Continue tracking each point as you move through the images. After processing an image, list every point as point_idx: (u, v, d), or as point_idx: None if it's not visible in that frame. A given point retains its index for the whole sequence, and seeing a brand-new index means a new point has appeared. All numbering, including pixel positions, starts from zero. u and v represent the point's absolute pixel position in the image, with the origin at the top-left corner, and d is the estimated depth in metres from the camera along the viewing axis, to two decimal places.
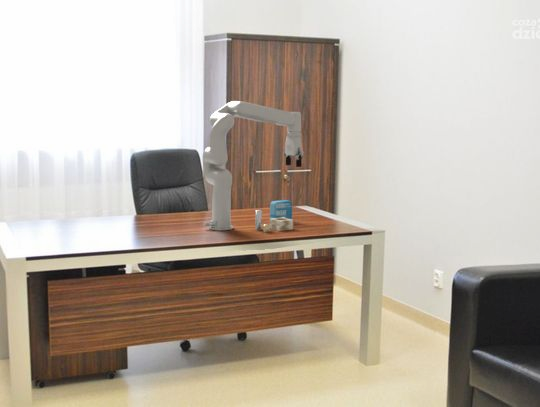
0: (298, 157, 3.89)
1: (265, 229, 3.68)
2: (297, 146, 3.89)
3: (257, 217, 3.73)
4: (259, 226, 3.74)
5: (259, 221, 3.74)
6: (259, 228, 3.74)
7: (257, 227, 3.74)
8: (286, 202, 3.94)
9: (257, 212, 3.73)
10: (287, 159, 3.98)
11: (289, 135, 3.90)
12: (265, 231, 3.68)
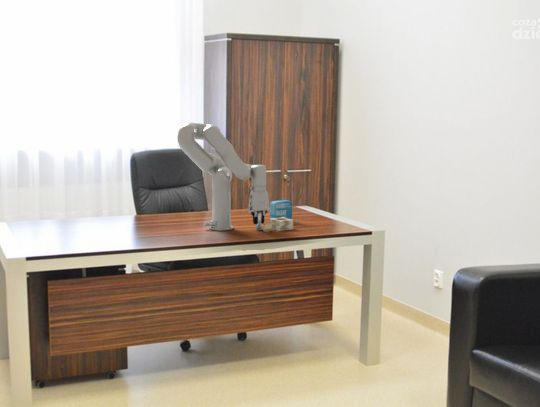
0: (264, 214, 3.76)
1: (265, 229, 3.68)
2: None
3: None
4: (259, 226, 3.74)
5: (259, 221, 3.74)
6: (259, 228, 3.74)
7: (257, 227, 3.74)
8: (286, 202, 3.94)
9: (257, 212, 3.73)
10: None
11: (263, 190, 3.70)
12: (265, 231, 3.68)
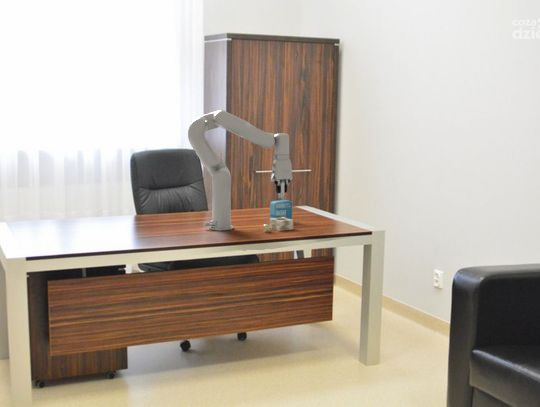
0: (287, 182, 3.76)
1: (265, 229, 3.68)
2: None
3: None
4: (282, 195, 3.74)
5: (282, 190, 3.74)
6: (282, 197, 3.74)
7: (280, 196, 3.74)
8: (286, 202, 3.94)
9: (280, 181, 3.73)
10: None
11: (286, 158, 3.70)
12: (265, 231, 3.68)
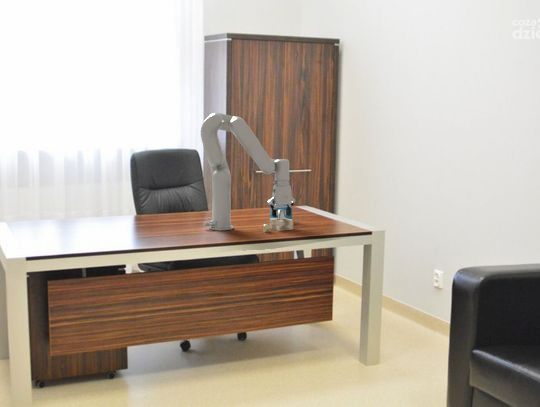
0: (291, 205, 3.79)
1: (265, 229, 3.68)
2: None
3: (280, 216, 3.76)
4: None
5: None
6: None
7: None
8: None
9: (280, 211, 3.76)
10: None
11: (287, 184, 3.72)
12: (265, 231, 3.68)
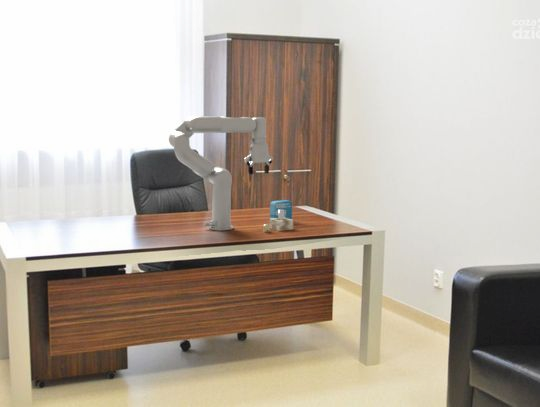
0: (269, 163, 3.81)
1: (265, 229, 3.68)
2: None
3: (280, 216, 3.76)
4: None
5: None
6: None
7: None
8: (286, 202, 3.94)
9: (280, 211, 3.76)
10: None
11: (263, 142, 3.74)
12: (265, 231, 3.68)
